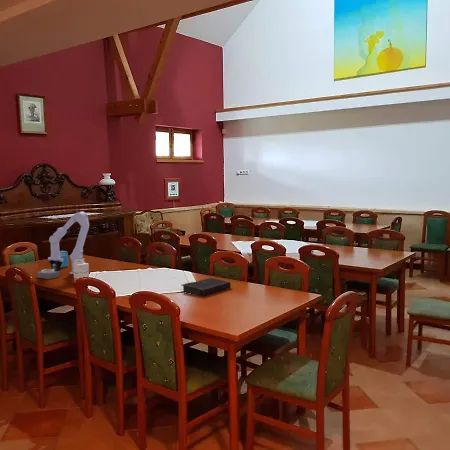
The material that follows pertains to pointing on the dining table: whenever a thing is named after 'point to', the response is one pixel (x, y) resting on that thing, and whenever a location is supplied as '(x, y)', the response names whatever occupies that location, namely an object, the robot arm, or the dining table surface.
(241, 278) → the dining table surface
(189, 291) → the diary
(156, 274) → the dining table surface
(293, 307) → the dining table surface
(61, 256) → the data package
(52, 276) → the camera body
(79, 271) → the ink cartridge box
